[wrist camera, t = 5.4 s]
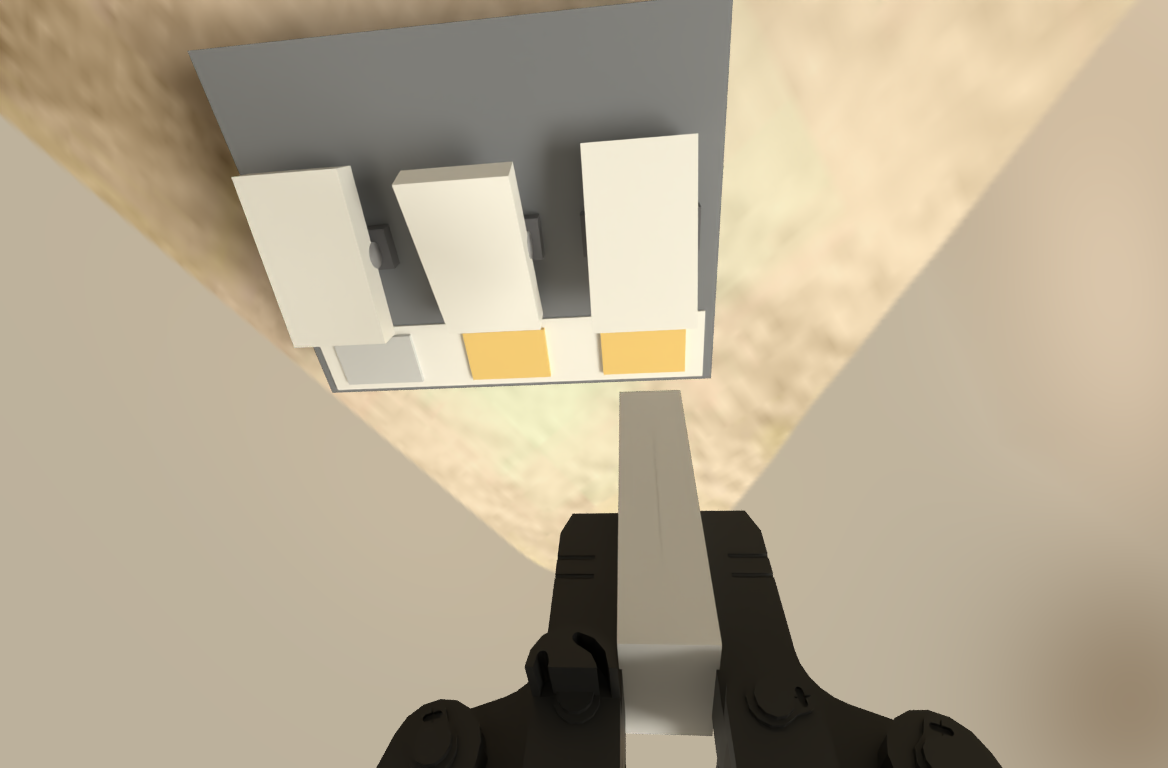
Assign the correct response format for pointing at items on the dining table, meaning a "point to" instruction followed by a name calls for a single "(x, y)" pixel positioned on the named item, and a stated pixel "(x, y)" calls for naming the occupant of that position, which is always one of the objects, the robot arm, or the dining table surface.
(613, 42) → the panel
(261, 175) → the switch
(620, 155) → the switch
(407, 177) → the switch
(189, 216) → the dining table surface
